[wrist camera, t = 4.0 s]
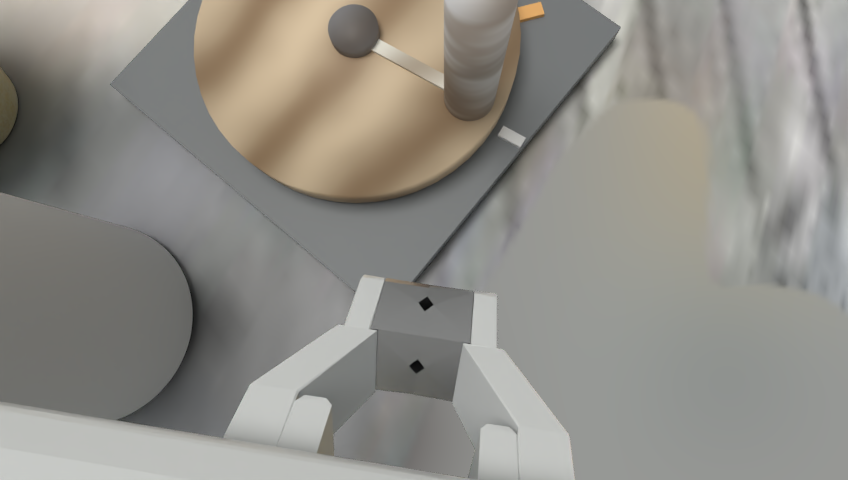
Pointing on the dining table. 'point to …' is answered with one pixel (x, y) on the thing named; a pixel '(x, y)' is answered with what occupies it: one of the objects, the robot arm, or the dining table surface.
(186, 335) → the cylinder vase
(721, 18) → the dining table surface
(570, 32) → the dial base
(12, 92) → the plant pot
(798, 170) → the dining table surface
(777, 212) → the dining table surface
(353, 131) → the dial
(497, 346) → the robot arm
